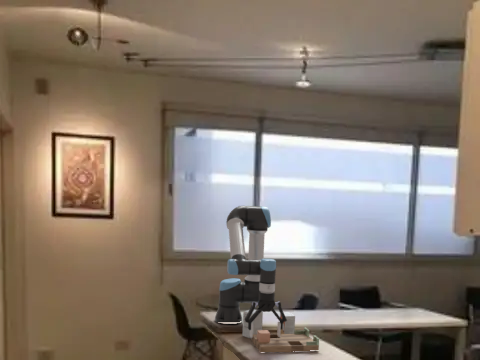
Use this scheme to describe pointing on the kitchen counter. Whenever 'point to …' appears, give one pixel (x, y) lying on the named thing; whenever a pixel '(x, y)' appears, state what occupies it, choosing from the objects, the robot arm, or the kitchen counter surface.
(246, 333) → the supplement box
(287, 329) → the small box
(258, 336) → the block
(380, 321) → the kitchen counter surface
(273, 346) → the tray
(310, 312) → the kitchen counter surface
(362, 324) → the kitchen counter surface
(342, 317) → the kitchen counter surface
